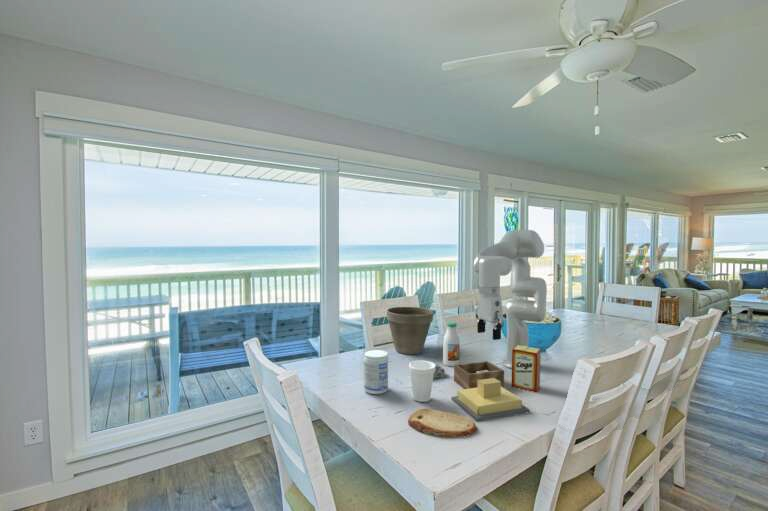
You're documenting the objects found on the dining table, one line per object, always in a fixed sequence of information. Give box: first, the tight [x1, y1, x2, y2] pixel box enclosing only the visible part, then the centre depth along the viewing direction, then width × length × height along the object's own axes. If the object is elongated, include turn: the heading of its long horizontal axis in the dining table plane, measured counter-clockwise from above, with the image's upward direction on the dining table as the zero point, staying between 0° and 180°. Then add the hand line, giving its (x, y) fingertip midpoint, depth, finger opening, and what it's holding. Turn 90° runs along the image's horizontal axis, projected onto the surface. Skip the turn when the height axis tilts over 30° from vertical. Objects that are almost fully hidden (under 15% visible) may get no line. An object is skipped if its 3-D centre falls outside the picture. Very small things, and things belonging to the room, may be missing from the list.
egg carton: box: [433, 363, 447, 379], centre depth 159 cm, size 11×8×4 cm
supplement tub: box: [363, 349, 389, 395], centre depth 143 cm, size 10×10×15 cm
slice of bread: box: [407, 407, 478, 438], centre depth 117 cm, size 18×18×4 cm
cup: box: [408, 360, 437, 403], centre depth 135 cm, size 10×10×13 cm
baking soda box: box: [511, 345, 542, 393], centre depth 147 cm, size 10×6×16 cm
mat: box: [451, 395, 530, 422], centre depth 131 cm, size 21×17×1 cm
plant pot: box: [386, 306, 434, 355], centre depth 195 cm, size 25×25×22 cm
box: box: [453, 360, 505, 389], centre depth 150 cm, size 16×12×7 cm
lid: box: [457, 378, 523, 415], centre depth 130 cm, size 18×14×8 cm
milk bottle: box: [442, 321, 461, 367], centre depth 174 cm, size 8×8×20 cm
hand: (488, 335), depth 137 cm, fingers open, 9 cm apart
